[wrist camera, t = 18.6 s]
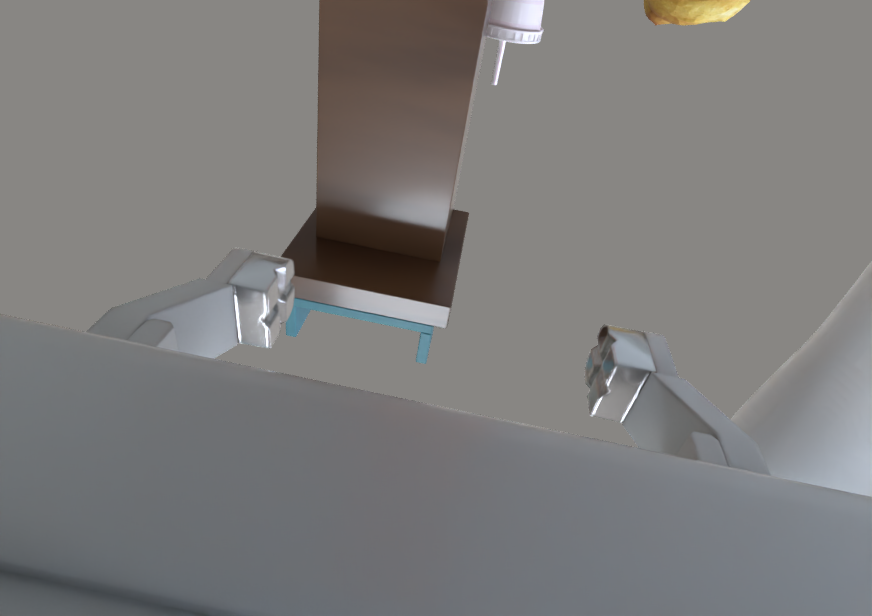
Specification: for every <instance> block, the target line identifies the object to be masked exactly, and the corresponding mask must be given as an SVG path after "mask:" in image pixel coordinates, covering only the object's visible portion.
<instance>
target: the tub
mask: <svg viewBox="0 0 872 616" xmlns="http://www.w3.org/2000/svg"><path fill="white" fill-rule="evenodd" d="M310 310H316V311H321V312H325V313H330V314H335V315H340V316H346V317H350V318H355V319H360V320H365V321H369V322H374V323H379V324H384V325H389V326H394V327H399V328H403V329H408V330H414V331H418V332H421V334H420V340H419V346H418V352H417V357H416V362H420V363H424V364H426V361H427V356H428V352H429V348H430V343H431V339H432V334H433V329H434V326H431V325H426V324H421V323H416V322H411V321H407V320H402V319H397V318H392V317H387V316H382V315H377V314H372V313H368V312H363V311H358V310H353V309H348V308H343V307H338V306H333V305H328V304H324V303H319V302H314V301H309V300H304V299H299V298H295V299H294V305H293V308H292V312H291V314H290V316H289V318H288V320H287V321H286V335H288V336H293V337H296V336H297V334H298V332H299V330H300V328H301V326H302V325H303V323H304V321H305V319H306V317H307V315H308V314H309V312H310Z"/></svg>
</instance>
